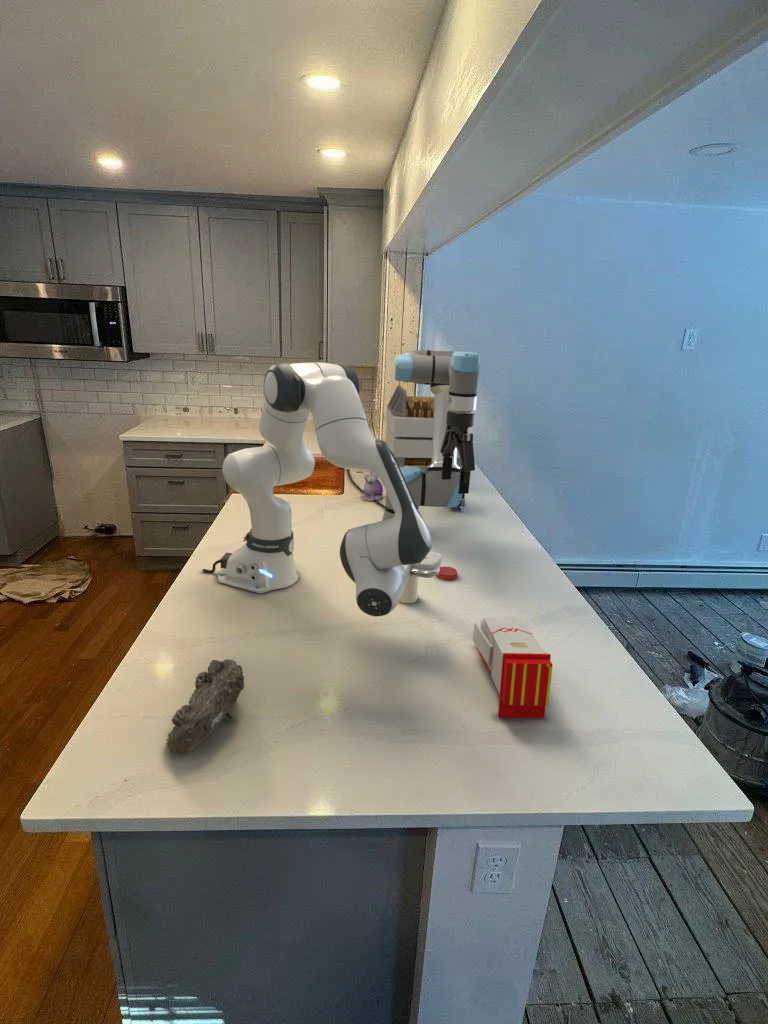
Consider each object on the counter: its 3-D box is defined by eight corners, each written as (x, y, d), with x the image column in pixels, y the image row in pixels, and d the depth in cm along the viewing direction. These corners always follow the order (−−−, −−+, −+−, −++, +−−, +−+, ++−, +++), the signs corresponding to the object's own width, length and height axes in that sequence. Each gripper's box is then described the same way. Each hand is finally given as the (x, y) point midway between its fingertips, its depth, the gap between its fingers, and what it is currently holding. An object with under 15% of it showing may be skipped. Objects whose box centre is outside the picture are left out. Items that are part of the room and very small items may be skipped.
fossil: (192, 660, 117) (244, 628, 112) (224, 691, 120) (276, 661, 115) (142, 746, 98) (202, 712, 93) (182, 779, 101) (242, 748, 96)
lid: (433, 572, 172) (433, 567, 171) (451, 570, 174) (452, 565, 173) (441, 581, 166) (441, 576, 166) (460, 579, 168) (460, 574, 168)
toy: (519, 602, 136) (561, 660, 107) (515, 654, 139) (554, 724, 109) (469, 601, 136) (497, 659, 106) (465, 653, 138) (492, 723, 109)
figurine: (367, 502, 230) (368, 467, 225) (357, 495, 238) (358, 460, 233) (388, 500, 234) (389, 465, 229) (377, 492, 242) (378, 458, 237)
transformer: (382, 463, 289) (386, 382, 275) (445, 464, 293) (451, 384, 279) (390, 482, 257) (394, 392, 243) (460, 483, 261) (468, 394, 247)
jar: (416, 594, 158) (420, 537, 152) (416, 604, 153) (420, 545, 147) (397, 593, 158) (400, 535, 153) (396, 602, 153) (399, 543, 147)
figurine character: (465, 515, 224) (460, 499, 237) (467, 498, 221) (462, 483, 234) (448, 515, 224) (444, 499, 237) (450, 498, 220) (445, 482, 234)
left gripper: (438, 563, 122) (446, 539, 135) (347, 551, 126) (363, 529, 139) (436, 589, 124) (444, 563, 137) (346, 576, 128) (362, 553, 141)
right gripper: (433, 403, 164) (427, 474, 171) (465, 420, 141) (458, 500, 148) (457, 403, 166) (451, 473, 173) (493, 419, 143) (484, 499, 150)
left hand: (402, 546), depth 138 cm, fingers open, 8 cm apart
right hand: (454, 486), depth 161 cm, fingers open, 13 cm apart
